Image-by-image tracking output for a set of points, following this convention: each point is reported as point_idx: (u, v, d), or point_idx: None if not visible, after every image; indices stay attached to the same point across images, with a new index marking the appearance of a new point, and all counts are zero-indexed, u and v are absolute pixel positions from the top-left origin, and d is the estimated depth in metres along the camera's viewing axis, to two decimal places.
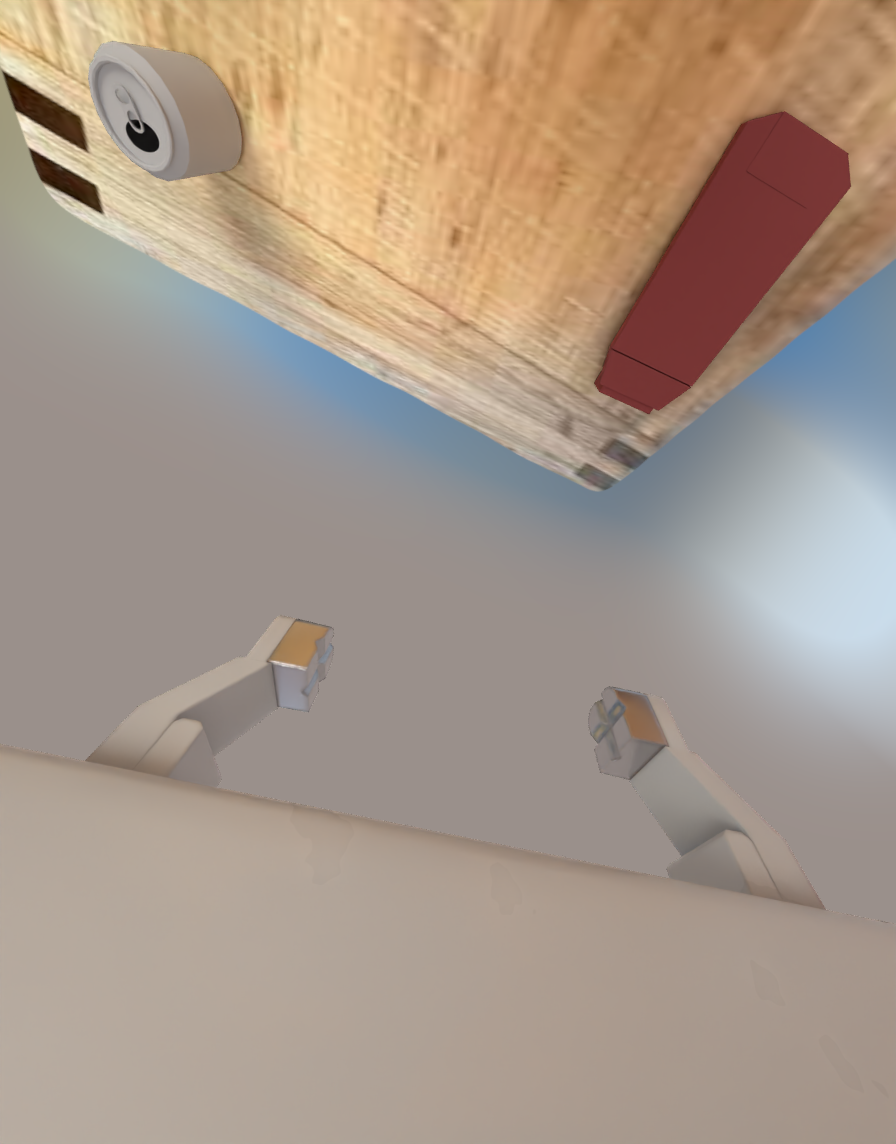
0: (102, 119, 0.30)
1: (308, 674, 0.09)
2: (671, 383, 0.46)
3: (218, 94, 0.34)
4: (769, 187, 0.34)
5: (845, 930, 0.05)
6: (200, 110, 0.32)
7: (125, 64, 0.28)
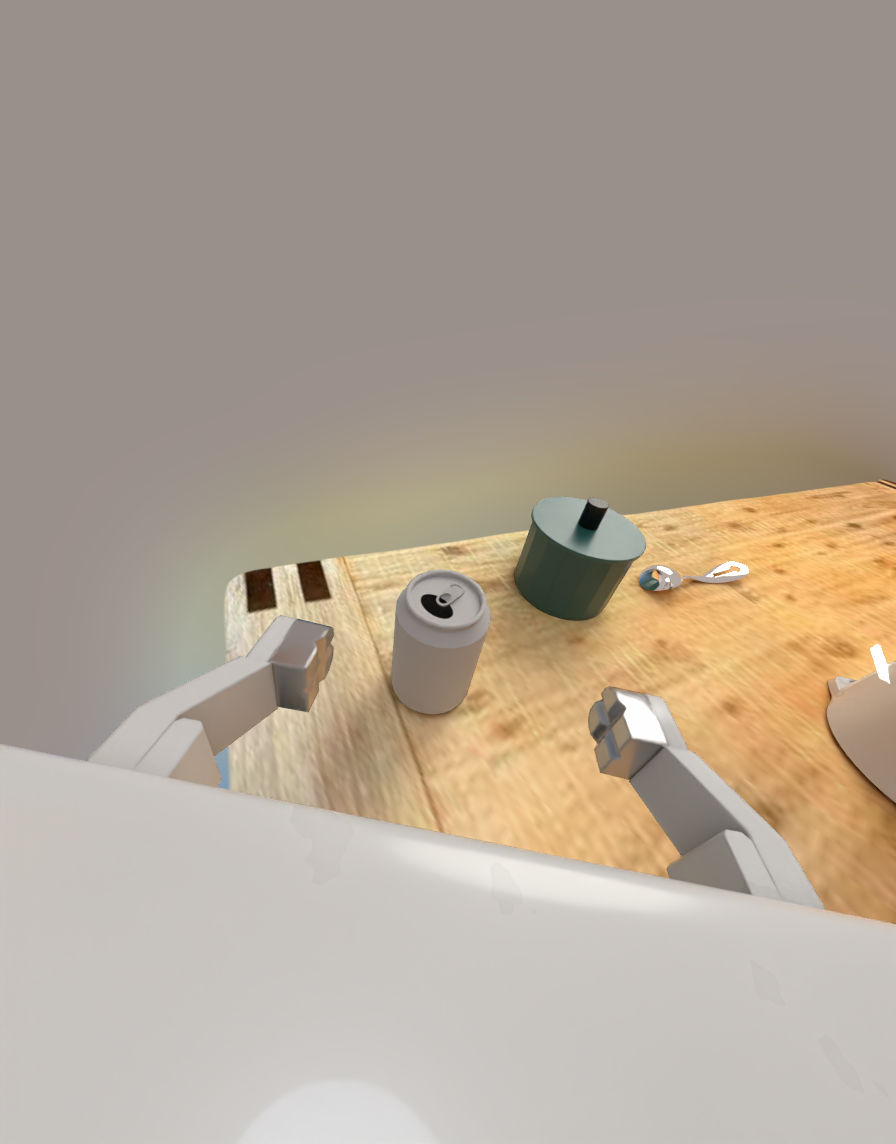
0: (418, 577, 0.28)
1: (308, 674, 0.09)
2: None
3: None
4: None
5: (845, 930, 0.05)
6: (476, 659, 0.28)
7: (482, 590, 0.27)
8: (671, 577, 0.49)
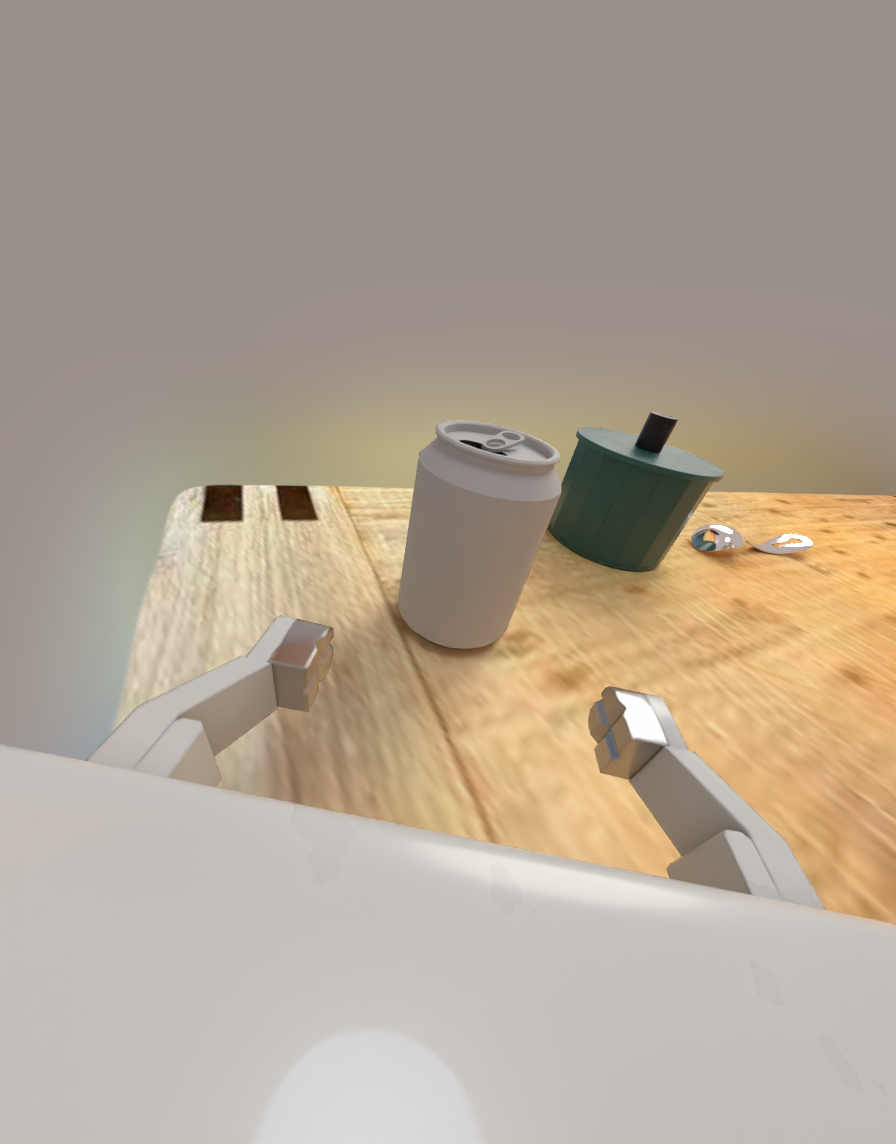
0: (453, 421, 0.18)
1: (308, 674, 0.09)
2: None
3: None
4: None
5: (845, 930, 0.05)
6: (534, 553, 0.18)
7: (548, 445, 0.18)
8: (733, 535, 0.40)
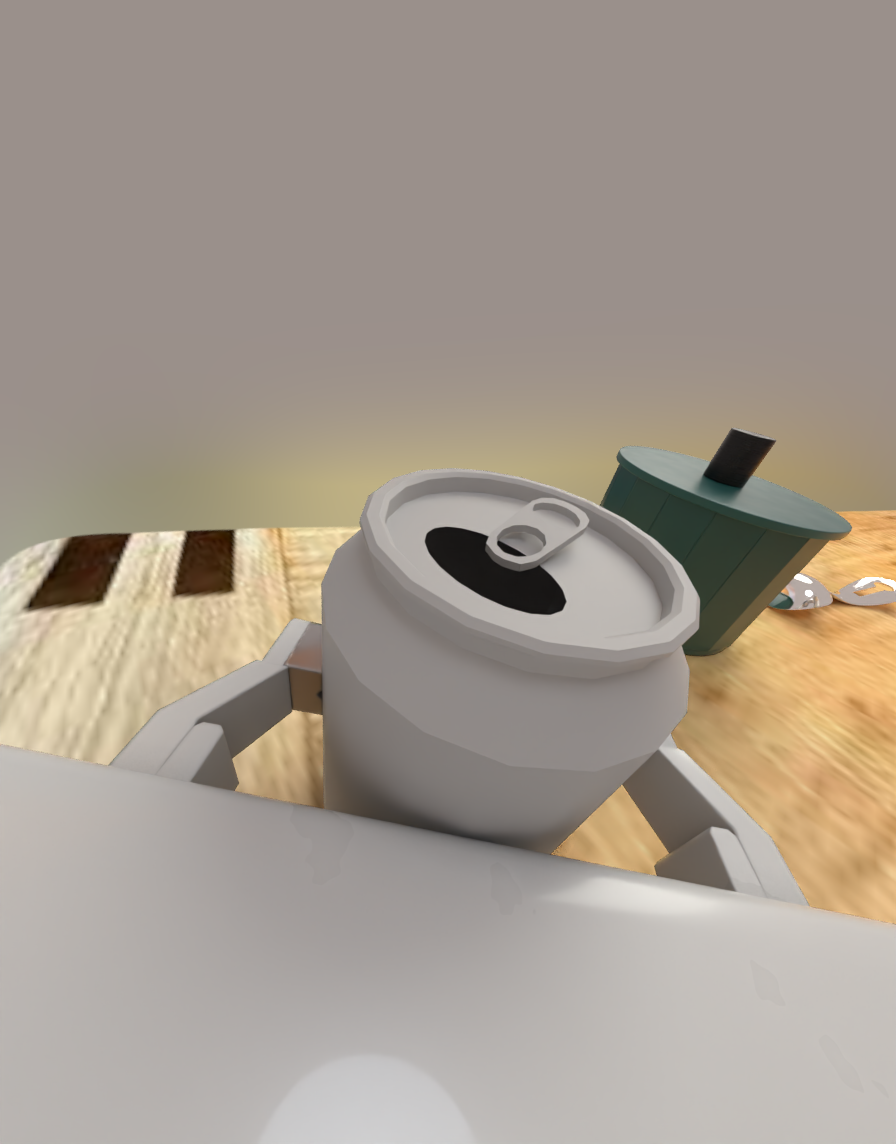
0: (419, 475, 0.08)
1: None
2: None
3: None
4: None
5: (845, 930, 0.05)
6: None
7: (639, 531, 0.08)
8: (819, 589, 0.30)
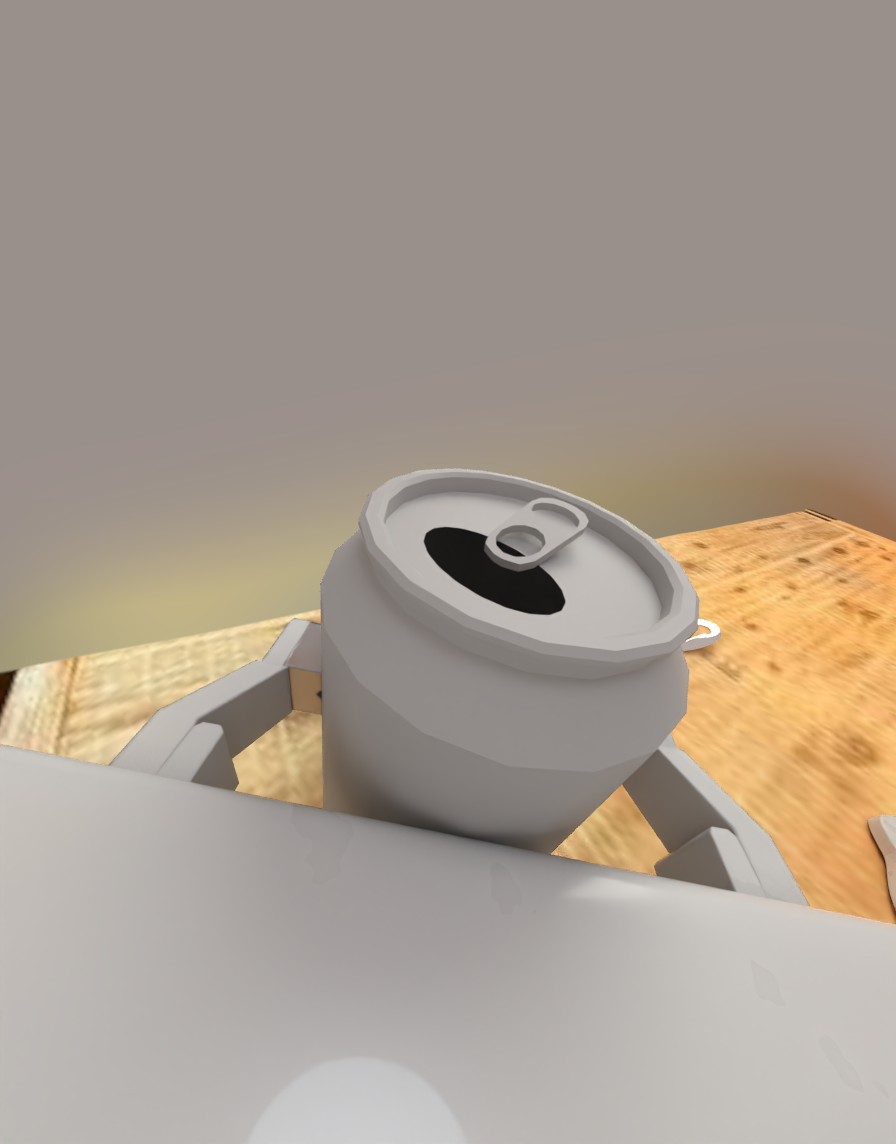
0: (418, 475, 0.08)
1: None
2: None
3: None
4: None
5: (845, 930, 0.05)
6: None
7: (639, 531, 0.08)
8: None
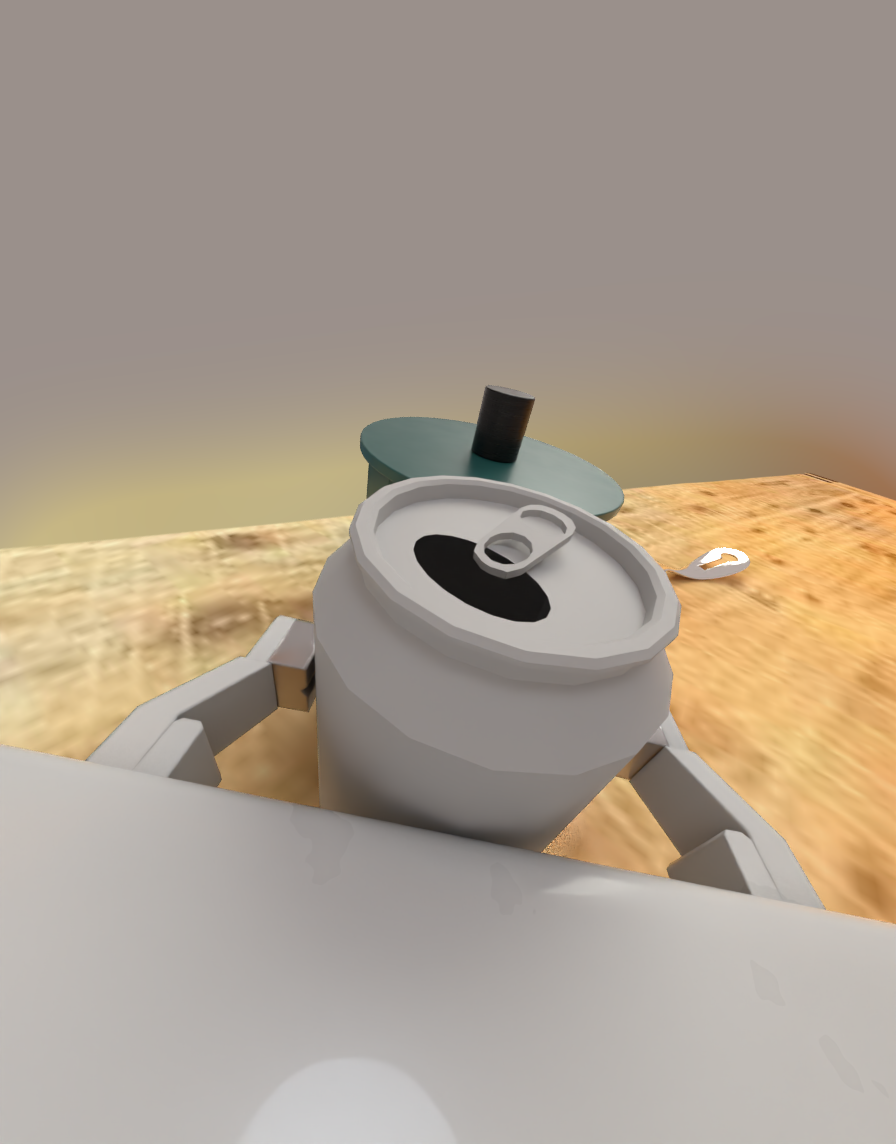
0: (409, 483, 0.08)
1: (308, 674, 0.09)
2: None
3: None
4: None
5: (845, 930, 0.05)
6: None
7: (626, 537, 0.08)
8: None
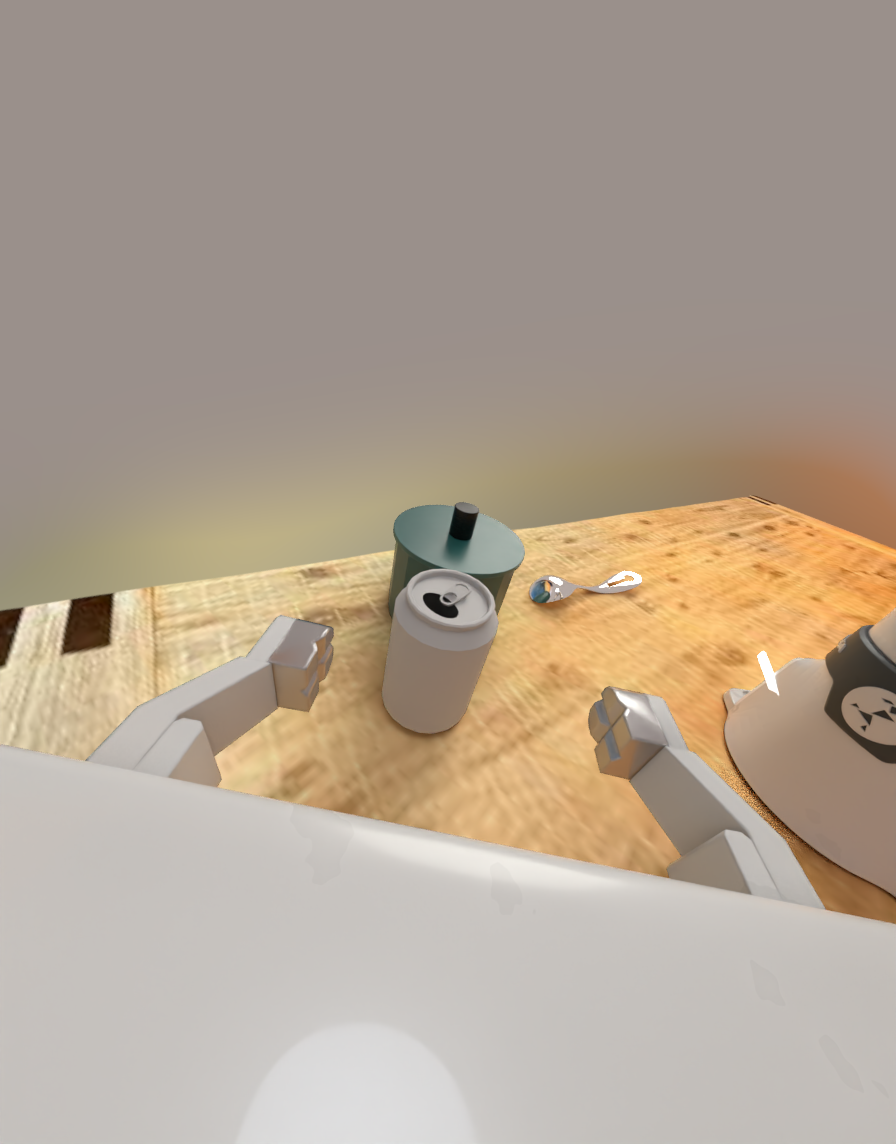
0: (420, 574, 0.25)
1: (308, 675, 0.09)
2: None
3: None
4: None
5: (845, 930, 0.05)
6: (480, 669, 0.25)
7: (489, 592, 0.25)
8: (560, 587, 0.45)
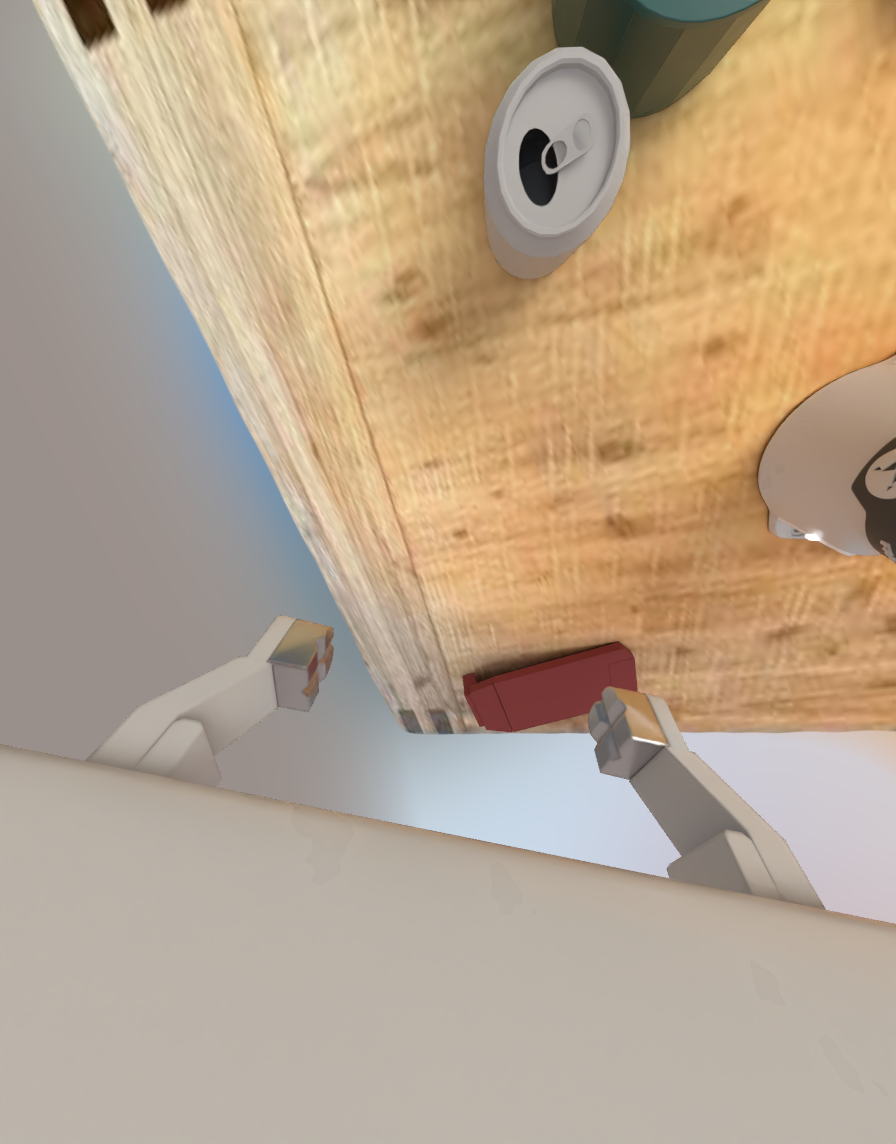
0: (536, 72, 0.16)
1: (309, 674, 0.09)
2: (505, 723, 0.56)
3: None
4: (609, 678, 0.51)
5: (845, 930, 0.05)
6: (572, 251, 0.23)
7: (621, 150, 0.17)
8: None
